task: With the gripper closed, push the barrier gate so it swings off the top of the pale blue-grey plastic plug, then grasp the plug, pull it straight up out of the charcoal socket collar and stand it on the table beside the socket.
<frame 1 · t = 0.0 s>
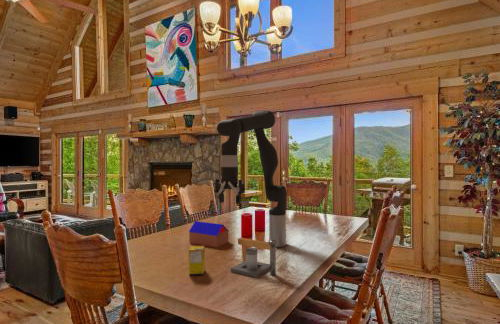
hand: (229, 203, 135), 29 cm above the table, fingers open, 8 cm apart
house: (209, 243, 180), on the table
plug: (251, 270, 136), resting in socket collar
supplement box: (197, 273, 133), on the table
barrier gate: (257, 254, 134), point 7 cm above the table, hinge at 0.0°
socket collar: (251, 269, 136), on the table
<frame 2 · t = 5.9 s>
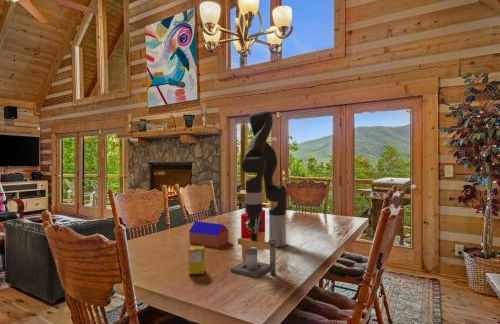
hand: (254, 241, 138), 12 cm above the table, fingers closed
barrier gate: (257, 254, 134), point 7 cm above the table, hinge at 0.3°, touching gripper
everything else where it was.
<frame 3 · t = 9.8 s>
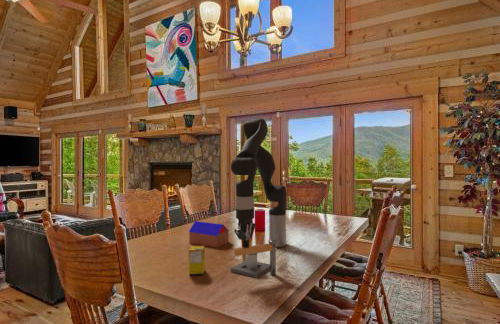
hand: (245, 248, 128), 12 cm above the table, fingers closed
barrier gate: (256, 260, 127), point 7 cm above the table, hinge at 57.4°, touching gripper
everything else where it was.
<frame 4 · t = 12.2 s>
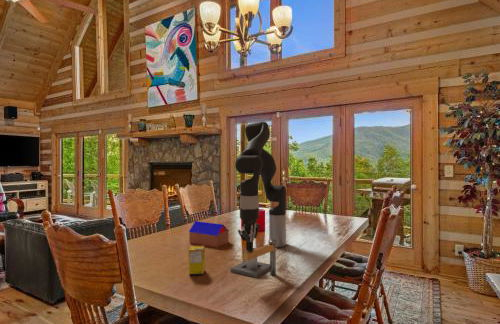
hand: (249, 250, 122), 13 cm above the table, fingers closed
barrier gate: (261, 262, 125), point 7 cm above the table, hinge at 81.5°
everything else where it was.
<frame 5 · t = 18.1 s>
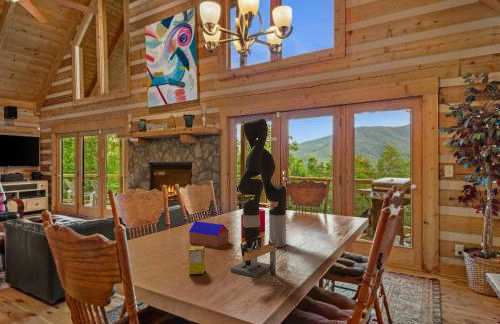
hand: (251, 263, 136), 3 cm above the table, fingers closed on plug, 5 cm apart
plug: (251, 269, 136), resting in socket collar, touching gripper
barrier gate: (261, 262, 124), point 7 cm above the table, hinge at 82.2°
everything else where it was.
when the fingers open (4 cm above the table, at t = 27.3 s): plug drops 1 cm, on the table.
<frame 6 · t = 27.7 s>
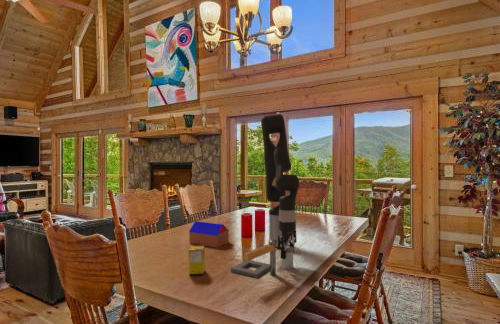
hand: (287, 255, 139), 5 cm above the table, fingers open, 8 cm apart
plug: (287, 267, 139), on the table
everything else where it was.
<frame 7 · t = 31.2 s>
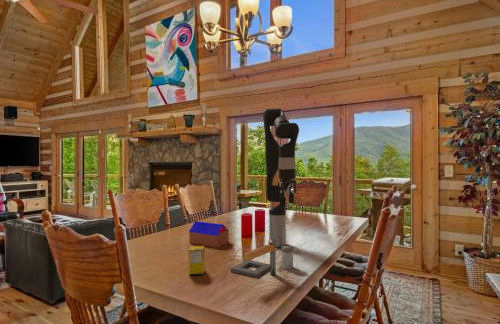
hand: (287, 204, 138), 28 cm above the table, fingers open, 8 cm apart
nothing on the table moved.
at the end: barrier gate at +82° (first picture: +0°); plug inside the target area (0.0 cm from its centre), on the table; plug tilted 0° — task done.
